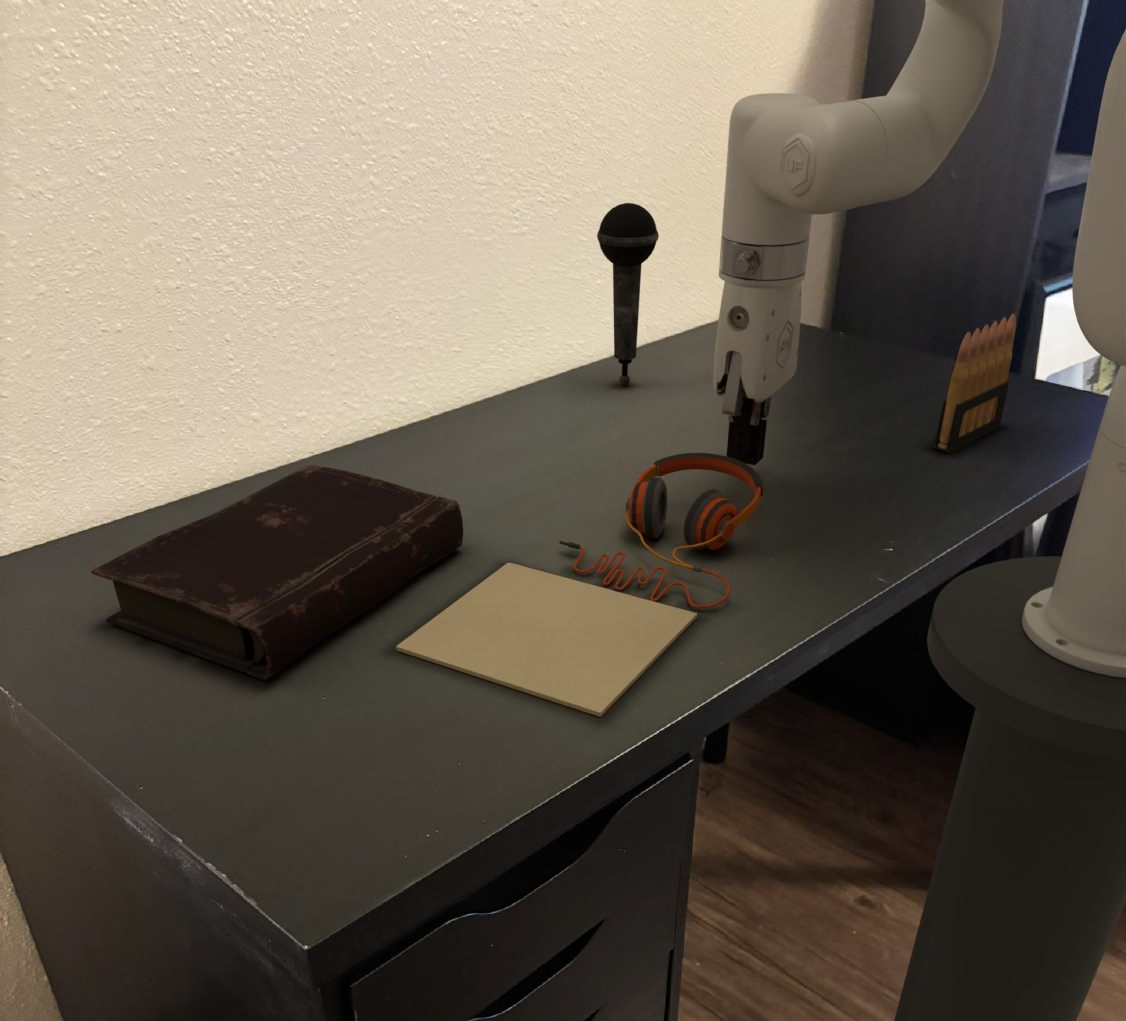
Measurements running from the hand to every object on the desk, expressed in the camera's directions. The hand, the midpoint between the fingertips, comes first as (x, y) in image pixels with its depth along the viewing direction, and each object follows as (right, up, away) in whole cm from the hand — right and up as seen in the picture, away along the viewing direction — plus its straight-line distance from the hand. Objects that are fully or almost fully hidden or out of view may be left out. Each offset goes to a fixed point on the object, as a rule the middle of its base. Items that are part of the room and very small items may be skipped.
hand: (744, 459), depth 107 cm
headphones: (-8, -10, -9) cm, 16 cm away
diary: (-41, -14, -14) cm, 45 cm away
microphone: (-10, +16, +26) cm, 32 cm away
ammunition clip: (+26, +5, +11) cm, 29 cm away
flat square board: (-19, -19, -21) cm, 34 cm away
